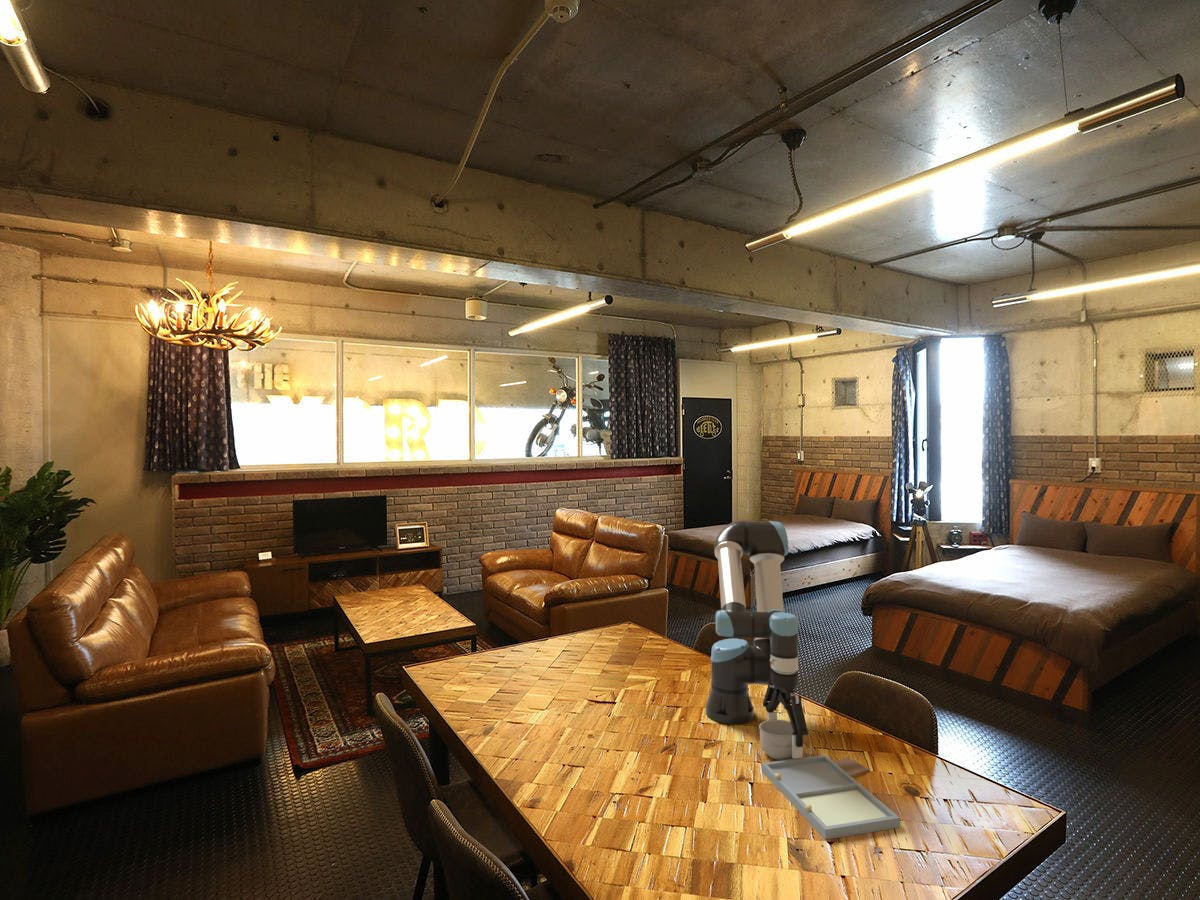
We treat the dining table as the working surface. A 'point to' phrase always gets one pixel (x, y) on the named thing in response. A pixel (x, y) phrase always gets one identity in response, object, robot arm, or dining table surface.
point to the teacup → (776, 739)
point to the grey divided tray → (829, 797)
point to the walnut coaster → (851, 767)
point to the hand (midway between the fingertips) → (784, 745)
